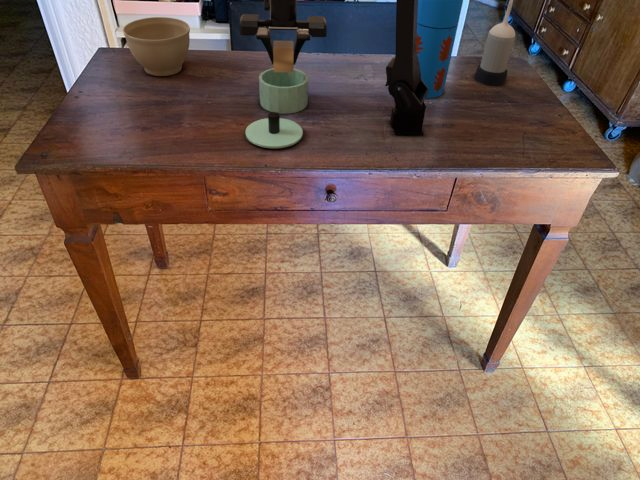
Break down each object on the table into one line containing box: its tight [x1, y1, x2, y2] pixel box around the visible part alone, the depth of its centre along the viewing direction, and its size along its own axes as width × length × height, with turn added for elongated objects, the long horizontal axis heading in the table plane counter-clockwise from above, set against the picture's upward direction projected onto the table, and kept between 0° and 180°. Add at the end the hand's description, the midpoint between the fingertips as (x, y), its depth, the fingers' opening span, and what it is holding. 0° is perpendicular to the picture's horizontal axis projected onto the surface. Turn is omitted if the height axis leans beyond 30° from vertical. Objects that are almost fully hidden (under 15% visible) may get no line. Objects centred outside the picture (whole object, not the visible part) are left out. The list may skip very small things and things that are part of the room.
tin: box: [258, 67, 309, 115], centre depth 120 cm, size 11×11×6 cm
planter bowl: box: [122, 16, 191, 77], centre depth 130 cm, size 16×16×11 cm
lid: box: [245, 112, 304, 149], centre depth 108 cm, size 12×12×5 cm
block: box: [272, 40, 295, 72], centre depth 114 cm, size 4×4×6 cm
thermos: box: [416, 0, 464, 99], centre depth 122 cm, size 11×11×25 cm
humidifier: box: [474, 0, 516, 87], centre depth 129 cm, size 8×8×25 cm
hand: (283, 64), depth 115 cm, fingers closed on block, 4 cm apart
